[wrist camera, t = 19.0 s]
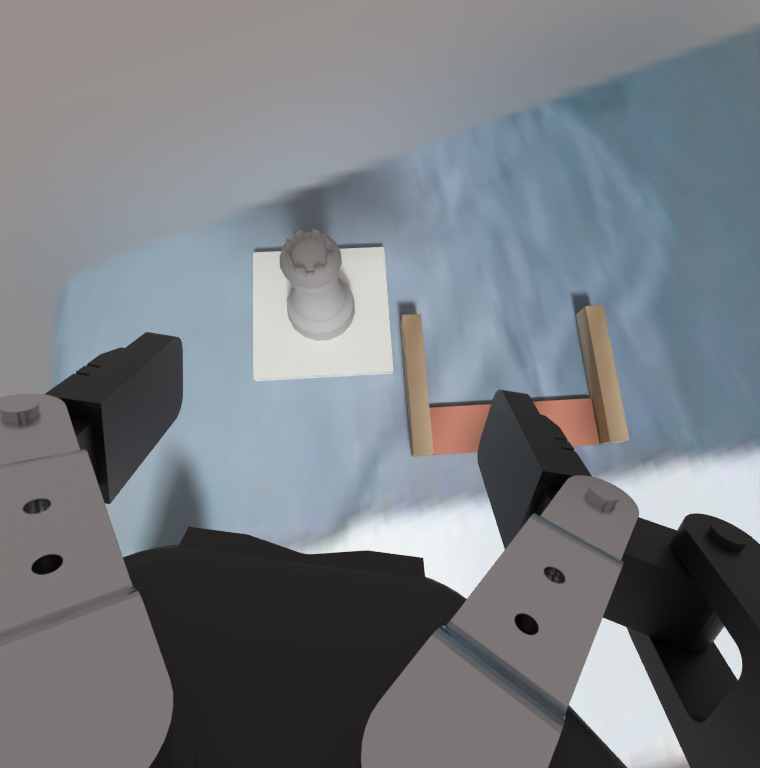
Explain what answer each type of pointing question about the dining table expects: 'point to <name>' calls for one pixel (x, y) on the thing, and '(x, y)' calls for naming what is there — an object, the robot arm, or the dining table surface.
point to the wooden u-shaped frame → (575, 416)
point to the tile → (326, 357)
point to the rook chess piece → (316, 286)
